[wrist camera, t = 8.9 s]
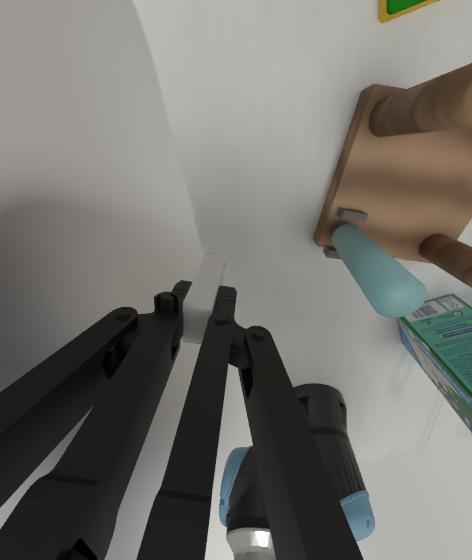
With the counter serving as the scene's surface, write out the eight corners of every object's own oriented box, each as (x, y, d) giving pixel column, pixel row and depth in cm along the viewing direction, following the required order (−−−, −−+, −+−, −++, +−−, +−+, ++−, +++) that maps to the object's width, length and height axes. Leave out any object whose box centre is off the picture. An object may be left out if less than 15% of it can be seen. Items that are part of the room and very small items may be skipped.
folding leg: (354, 252, 29) (410, 321, 17) (327, 248, 29) (364, 312, 17) (366, 226, 27) (438, 283, 15) (337, 221, 28) (385, 273, 16)
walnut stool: (423, 260, 35) (579, 360, 18) (311, 243, 35) (365, 328, 18) (515, 114, 25) (1023, 45, 9) (361, 90, 25) (575, -28, 8)
